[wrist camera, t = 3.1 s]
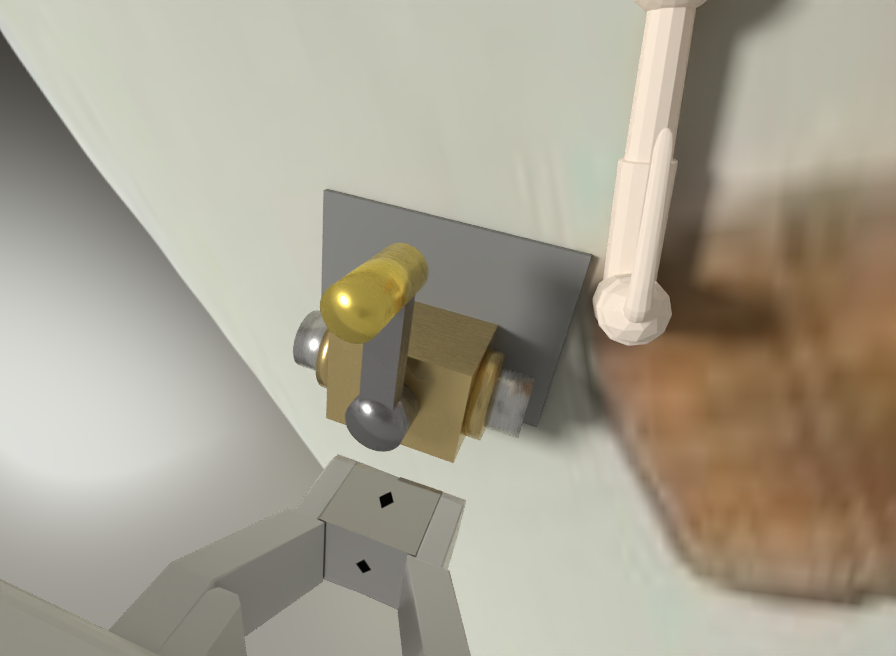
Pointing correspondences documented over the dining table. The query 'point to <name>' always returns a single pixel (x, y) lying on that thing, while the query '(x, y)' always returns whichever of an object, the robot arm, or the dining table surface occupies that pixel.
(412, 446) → the valve body
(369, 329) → the valve lever
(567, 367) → the dining table surface
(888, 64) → the dining table surface
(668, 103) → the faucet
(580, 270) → the valve base plate
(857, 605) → the dining table surface
